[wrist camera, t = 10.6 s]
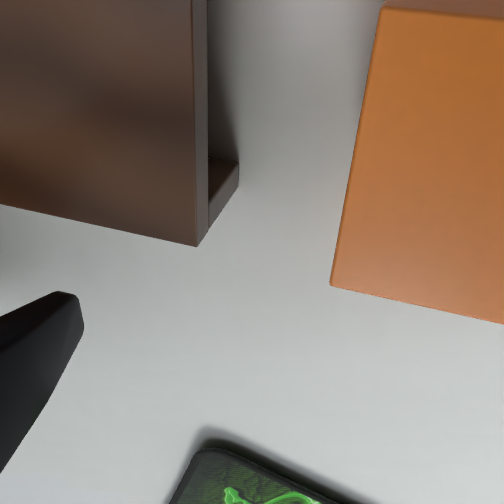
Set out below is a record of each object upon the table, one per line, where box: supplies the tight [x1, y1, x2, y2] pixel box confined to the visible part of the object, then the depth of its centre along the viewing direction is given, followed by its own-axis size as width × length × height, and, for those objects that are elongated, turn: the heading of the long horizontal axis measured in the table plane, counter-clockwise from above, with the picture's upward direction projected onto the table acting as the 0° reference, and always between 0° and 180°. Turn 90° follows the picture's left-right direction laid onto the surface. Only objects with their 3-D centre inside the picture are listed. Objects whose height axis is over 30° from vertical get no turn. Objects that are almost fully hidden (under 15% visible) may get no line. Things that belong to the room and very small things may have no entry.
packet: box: [329, 0, 504, 324], centre depth 14 cm, size 7×6×8 cm
